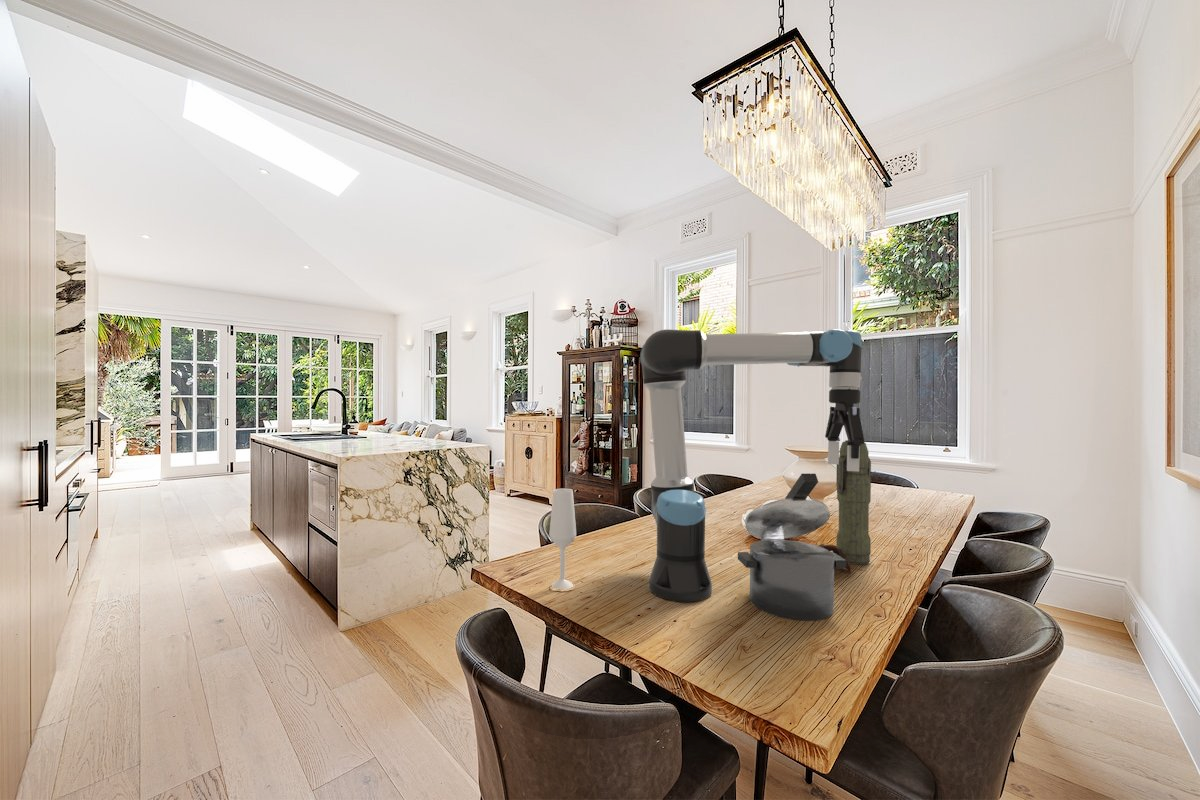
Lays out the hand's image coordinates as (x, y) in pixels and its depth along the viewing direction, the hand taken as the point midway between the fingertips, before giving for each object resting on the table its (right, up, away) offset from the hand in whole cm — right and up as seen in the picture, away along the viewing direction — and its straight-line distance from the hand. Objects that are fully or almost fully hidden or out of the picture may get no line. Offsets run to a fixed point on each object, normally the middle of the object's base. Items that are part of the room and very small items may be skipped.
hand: (842, 467), depth 130 cm
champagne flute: (-75, -28, -11) cm, 81 cm away
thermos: (+9, -29, +12) cm, 33 cm away
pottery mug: (-2, -29, +3) cm, 29 cm away
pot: (-22, -29, -17) cm, 40 cm away
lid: (-21, -8, -19) cm, 30 cm away
